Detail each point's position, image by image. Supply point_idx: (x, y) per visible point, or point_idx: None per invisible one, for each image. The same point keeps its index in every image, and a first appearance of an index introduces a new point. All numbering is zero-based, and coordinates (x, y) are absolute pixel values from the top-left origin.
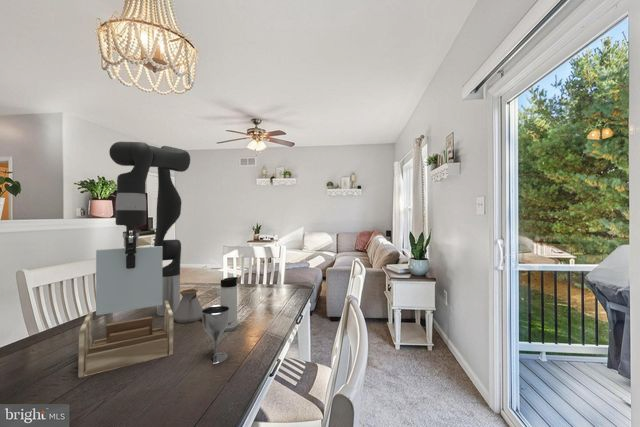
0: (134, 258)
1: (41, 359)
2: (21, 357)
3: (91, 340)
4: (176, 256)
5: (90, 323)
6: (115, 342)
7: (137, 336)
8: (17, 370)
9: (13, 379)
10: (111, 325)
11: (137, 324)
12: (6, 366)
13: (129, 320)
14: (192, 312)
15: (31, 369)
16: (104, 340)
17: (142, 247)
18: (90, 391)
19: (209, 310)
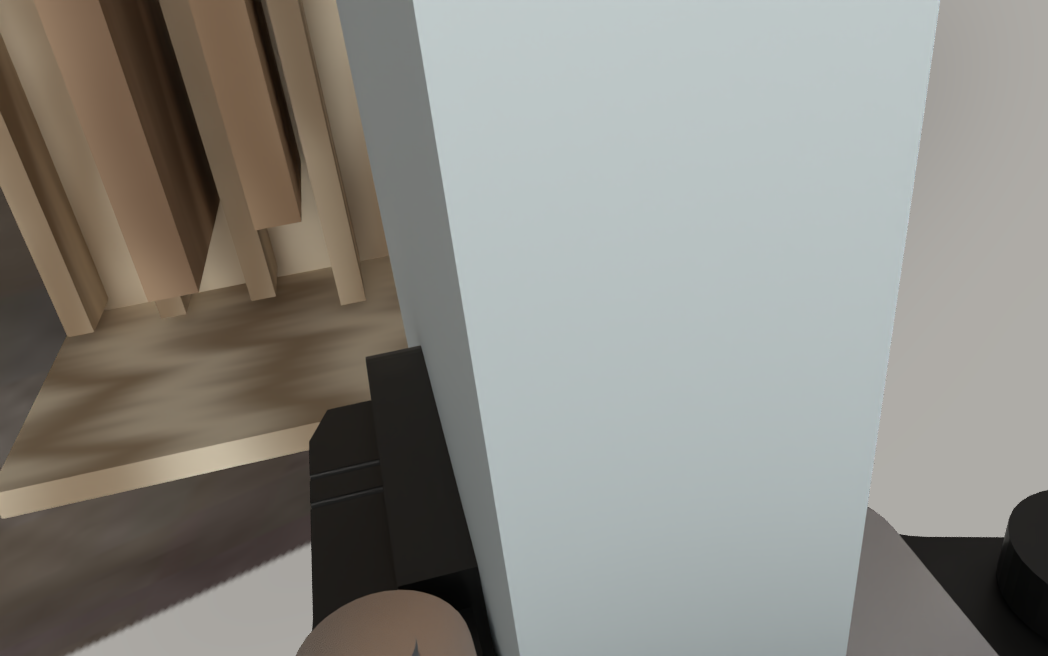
0: None
1: (76, 530)
2: (14, 628)
3: (97, 348)
4: None
5: (152, 421)
6: (310, 160)
7: (250, 6)
8: (192, 562)
9: (294, 529)
10: (188, 256)
11: (122, 37)
12: (122, 627)
13: (85, 128)
14: None
15: (203, 513)
16: (70, 268)
17: (691, 583)
18: None
19: None
